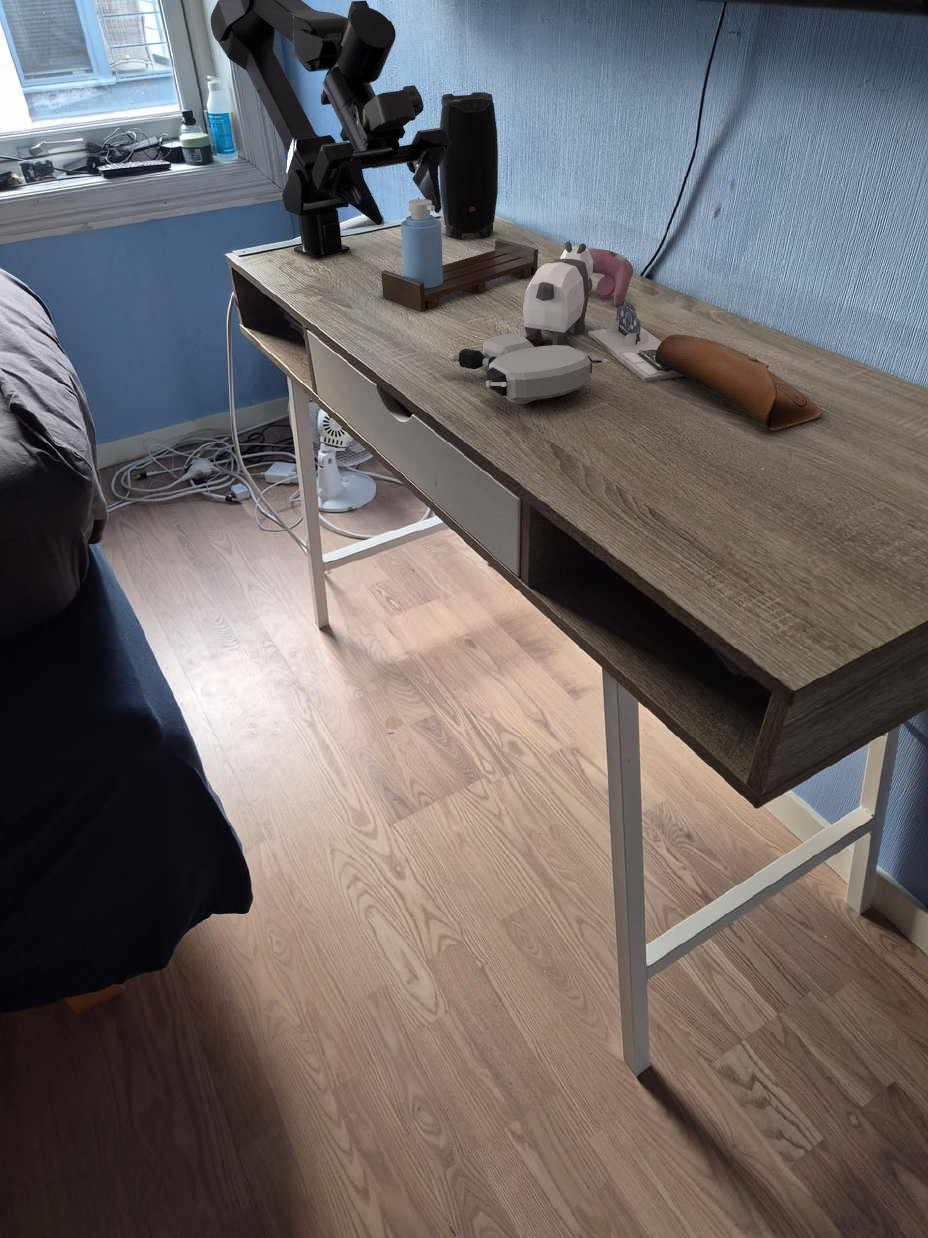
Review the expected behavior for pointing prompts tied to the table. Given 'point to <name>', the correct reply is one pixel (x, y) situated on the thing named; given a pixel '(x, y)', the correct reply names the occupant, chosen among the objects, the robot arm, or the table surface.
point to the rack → (463, 275)
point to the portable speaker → (469, 164)
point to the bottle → (422, 244)
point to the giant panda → (559, 295)
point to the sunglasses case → (738, 380)
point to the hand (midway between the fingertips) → (410, 216)
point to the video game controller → (611, 274)
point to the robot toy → (528, 367)
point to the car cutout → (633, 345)
